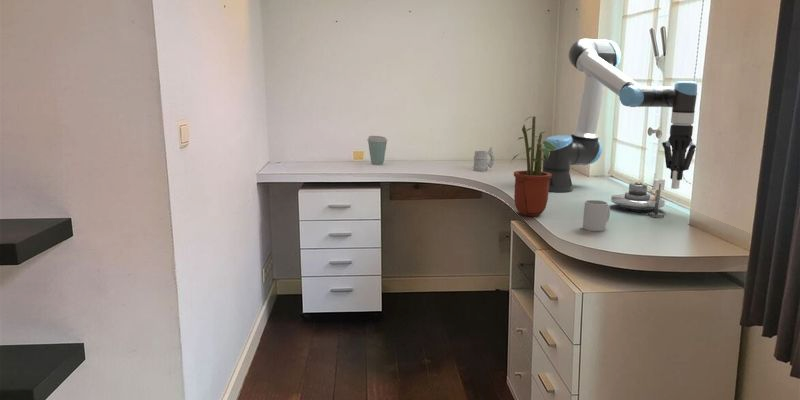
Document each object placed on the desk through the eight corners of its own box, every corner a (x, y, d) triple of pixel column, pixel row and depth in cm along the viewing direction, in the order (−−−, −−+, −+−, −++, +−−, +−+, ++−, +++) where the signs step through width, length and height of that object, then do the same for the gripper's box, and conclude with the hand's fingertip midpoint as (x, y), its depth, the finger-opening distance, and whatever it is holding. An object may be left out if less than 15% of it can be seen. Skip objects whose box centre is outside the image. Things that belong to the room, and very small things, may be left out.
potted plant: (541, 220, 210) (548, 117, 203) (499, 214, 218) (504, 115, 211) (557, 211, 224) (564, 115, 217) (517, 206, 232) (523, 113, 225)
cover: (632, 201, 227) (633, 185, 226) (620, 196, 236) (621, 181, 235) (654, 201, 229) (656, 185, 227) (641, 196, 237) (643, 181, 236)
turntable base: (631, 212, 227) (631, 206, 226) (615, 205, 237) (616, 200, 237) (658, 211, 228) (658, 206, 228) (641, 205, 239) (642, 200, 239)
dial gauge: (653, 217, 218) (657, 180, 216) (644, 213, 224) (648, 178, 222) (664, 217, 219) (668, 180, 217) (654, 213, 225) (658, 178, 222)
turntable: (627, 208, 222) (630, 185, 220) (601, 198, 240) (603, 176, 238) (675, 207, 225) (677, 185, 223) (646, 197, 243) (648, 176, 242)
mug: (470, 169, 321) (471, 146, 319) (489, 168, 326) (490, 146, 323) (477, 171, 314) (478, 148, 312) (497, 171, 319) (498, 148, 316)
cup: (577, 227, 201) (579, 201, 199) (599, 224, 206) (601, 198, 204) (594, 232, 195) (597, 205, 193) (616, 229, 200) (618, 202, 198)
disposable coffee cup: (390, 163, 334) (391, 136, 331) (379, 166, 326) (379, 137, 323) (374, 162, 340) (375, 135, 337) (363, 164, 331) (363, 136, 328)
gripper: (704, 125, 220) (697, 190, 224) (671, 123, 230) (664, 184, 234) (693, 125, 215) (686, 191, 220) (659, 123, 226) (653, 186, 230)
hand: (675, 188), depth 227 cm, fingers closed
